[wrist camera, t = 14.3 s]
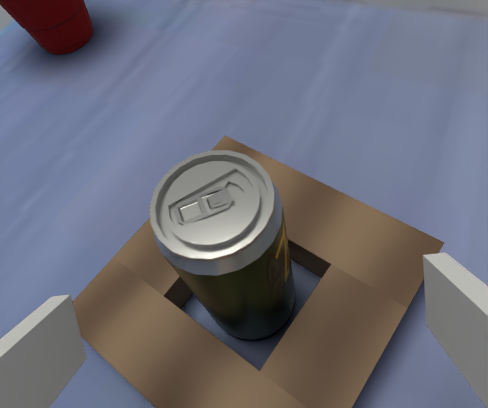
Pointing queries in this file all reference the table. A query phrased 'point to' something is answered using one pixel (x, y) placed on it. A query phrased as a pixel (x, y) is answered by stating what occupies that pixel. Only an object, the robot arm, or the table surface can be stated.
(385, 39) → the table surface
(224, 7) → the table surface
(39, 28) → the plastic cup
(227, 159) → the beer can
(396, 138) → the table surface
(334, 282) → the socket block
